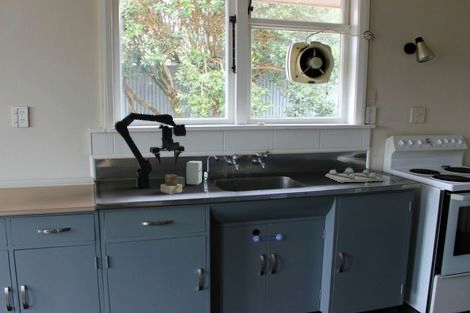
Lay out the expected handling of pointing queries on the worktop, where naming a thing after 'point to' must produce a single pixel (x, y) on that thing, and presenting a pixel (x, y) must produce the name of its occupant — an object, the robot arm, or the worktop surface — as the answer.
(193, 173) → the supplement box
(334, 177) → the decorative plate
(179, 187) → the birch block
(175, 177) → the walnut cube
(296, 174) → the worktop surface
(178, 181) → the gray cube
